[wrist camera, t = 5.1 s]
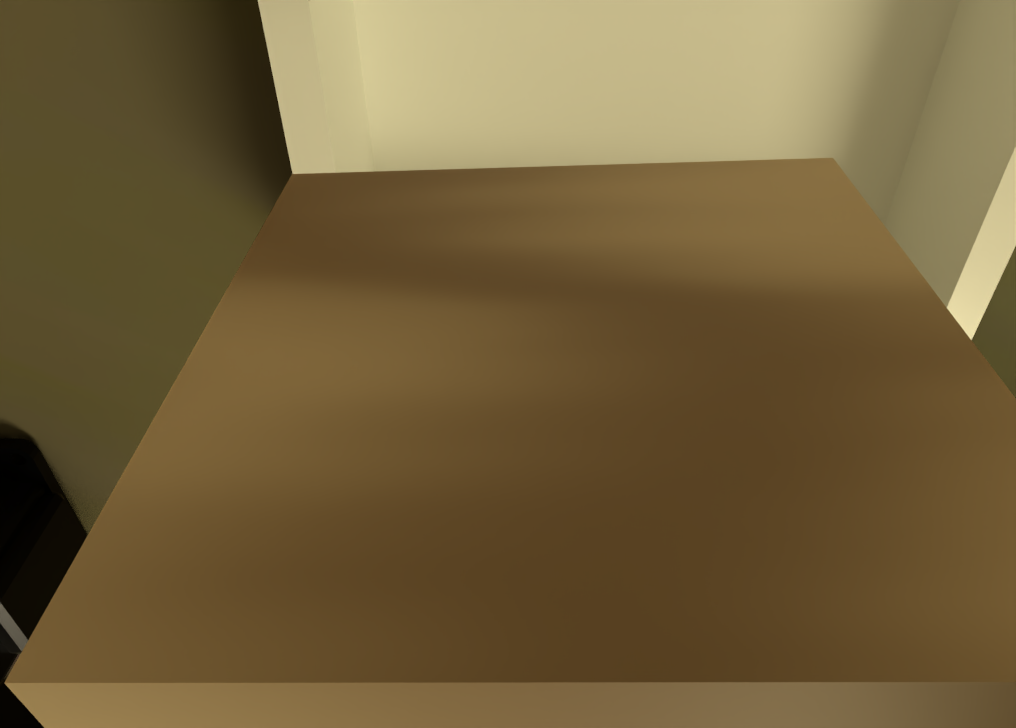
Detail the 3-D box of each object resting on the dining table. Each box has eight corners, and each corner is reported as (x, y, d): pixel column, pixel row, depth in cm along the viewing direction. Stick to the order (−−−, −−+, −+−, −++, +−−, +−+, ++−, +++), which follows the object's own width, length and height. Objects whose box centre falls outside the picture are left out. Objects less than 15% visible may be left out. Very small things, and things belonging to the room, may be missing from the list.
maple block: (373, 519, 10) (278, 988, 6) (292, 173, 7) (2, 682, 3) (746, 515, 10) (885, 996, 6) (832, 157, 7) (1228, 681, 3)
